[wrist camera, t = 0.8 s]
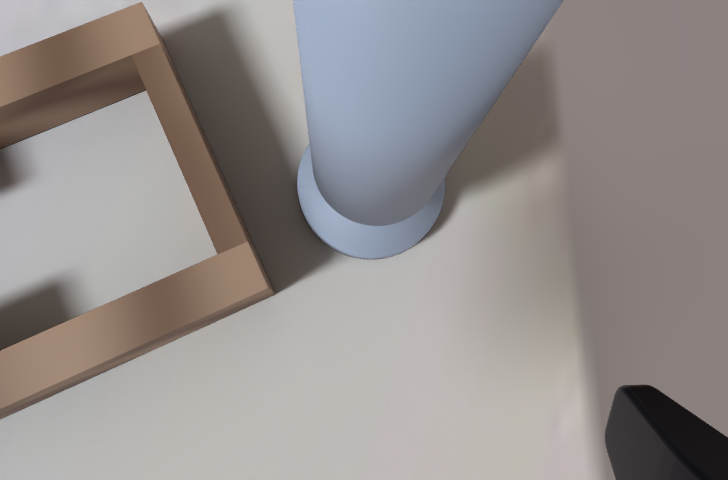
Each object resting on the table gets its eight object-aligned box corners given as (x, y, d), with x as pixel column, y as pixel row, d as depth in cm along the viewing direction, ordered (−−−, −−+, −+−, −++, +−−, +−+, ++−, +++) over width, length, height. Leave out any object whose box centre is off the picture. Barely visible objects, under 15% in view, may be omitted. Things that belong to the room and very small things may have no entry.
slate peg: (414, 280, 23) (603, 134, 7) (276, 229, 23) (148, -33, 7) (460, 148, 23) (724, -254, 8) (328, 100, 23) (319, -399, 8)
